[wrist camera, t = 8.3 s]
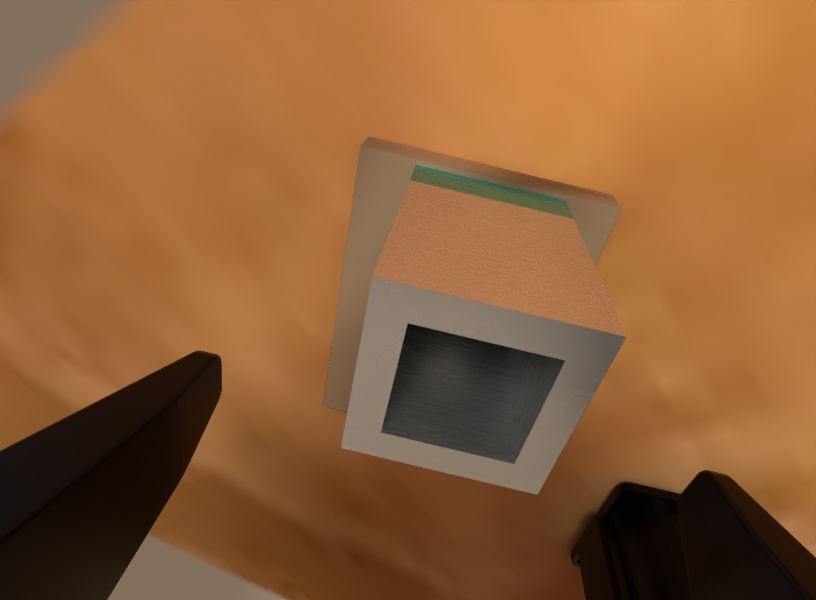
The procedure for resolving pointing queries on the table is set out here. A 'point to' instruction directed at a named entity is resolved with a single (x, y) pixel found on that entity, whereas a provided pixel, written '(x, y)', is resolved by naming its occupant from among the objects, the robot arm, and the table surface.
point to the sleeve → (479, 334)
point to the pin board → (373, 218)
